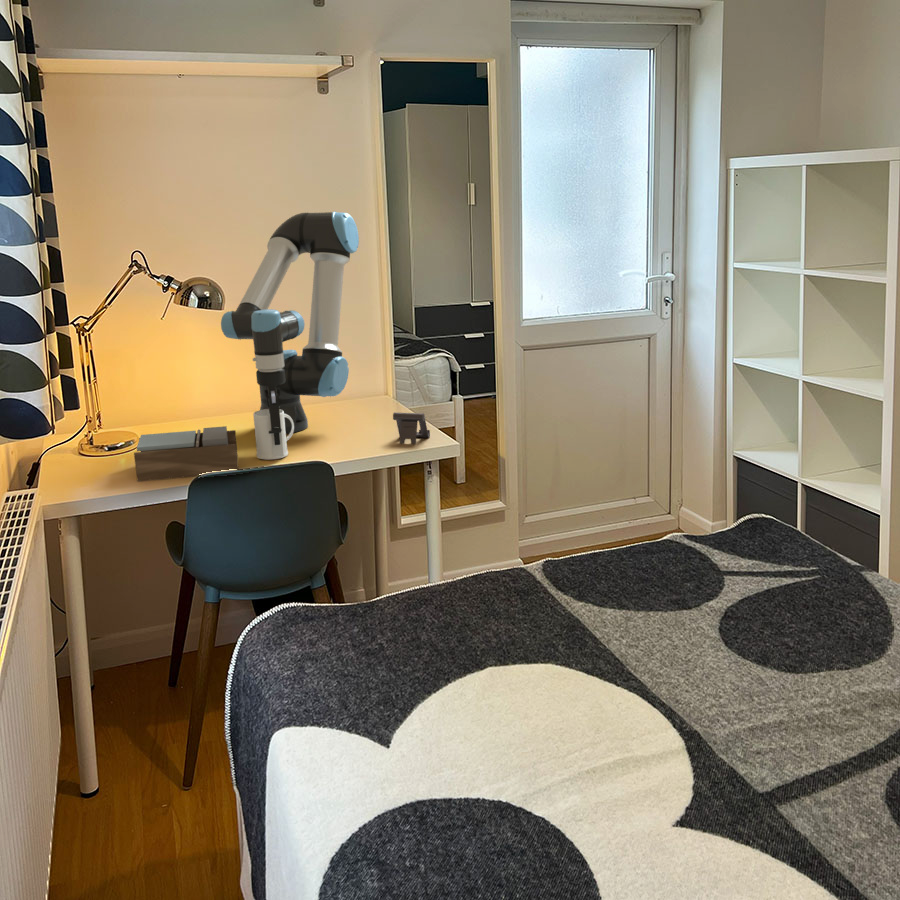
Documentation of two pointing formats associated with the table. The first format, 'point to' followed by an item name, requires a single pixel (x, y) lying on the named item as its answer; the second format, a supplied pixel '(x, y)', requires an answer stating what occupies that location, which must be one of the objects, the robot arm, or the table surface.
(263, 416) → the mug
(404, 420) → the portable electronic device stand
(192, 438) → the trapdoor
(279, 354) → the robot arm
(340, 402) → the table surface
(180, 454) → the brown wooden box
